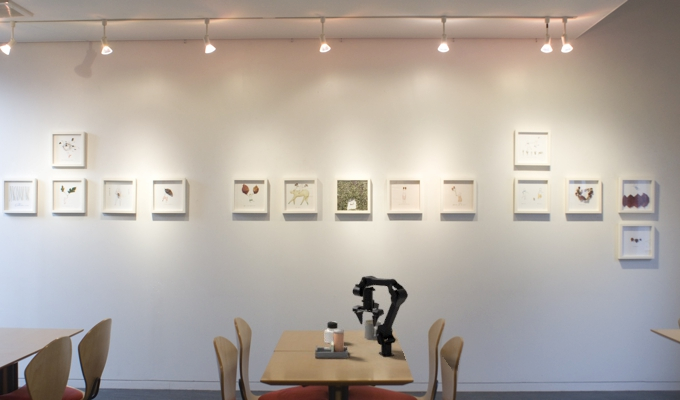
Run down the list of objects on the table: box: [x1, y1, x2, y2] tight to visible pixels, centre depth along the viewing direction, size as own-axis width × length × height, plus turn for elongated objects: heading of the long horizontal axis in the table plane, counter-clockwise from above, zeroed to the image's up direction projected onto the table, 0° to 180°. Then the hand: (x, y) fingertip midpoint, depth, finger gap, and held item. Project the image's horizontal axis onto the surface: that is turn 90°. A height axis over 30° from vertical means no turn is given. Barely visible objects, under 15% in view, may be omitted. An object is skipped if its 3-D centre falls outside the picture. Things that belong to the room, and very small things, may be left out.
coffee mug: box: [364, 319, 382, 341], centre depth 289 cm, size 13×10×10 cm
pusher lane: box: [314, 345, 349, 359], centre depth 255 cm, size 18×10×4 cm, turn 92°
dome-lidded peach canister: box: [333, 328, 345, 352], centre depth 256 cm, size 6×6×13 cm
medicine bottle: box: [323, 320, 339, 345], centre depth 281 cm, size 7×7×12 cm
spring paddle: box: [324, 342, 334, 352], centre depth 255 cm, size 5×7×6 cm
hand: (367, 325), depth 268 cm, fingers open, 9 cm apart
